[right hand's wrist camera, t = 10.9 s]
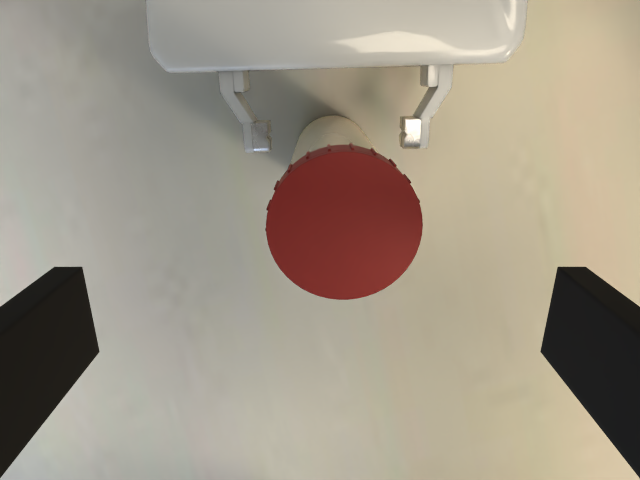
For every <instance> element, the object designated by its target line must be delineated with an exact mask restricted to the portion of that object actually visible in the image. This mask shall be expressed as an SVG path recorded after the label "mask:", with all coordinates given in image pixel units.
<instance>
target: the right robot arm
mask: <svg viewBox="0 0 640 480" xmlns="http://www.w3.org/2000/svg"><path fill="white" fill-rule="evenodd" d="M98 353H99V347H98V342H97V337H96V332H95V328H94V323H93V318H92V313H91V308H90V303H89V298H88V293H87V288H86V283H85V278H84V273H83V268H82V267H54V268H52V269H51V270H50V271H48V272H47V273H46V274H44V275H43V276H41V277H40V278H39V279H37V280H36V281H35V282H33V283H32V284H31V285H29V286H28V287H27V288H25V289H24V290H23V291H21V292H20V293H18V294H17V295H16V296H14V297H13V298H12V299H10V300H9V301H8V302H6V303H5V304H4V305H2V306H1V307H0V478H1V476H2V475H3V474H4V473H5V471H6V470H7V469H8V467H9V466H10V465H11V464H12V462H13V461H14V460H15V459H16V457H17V456H18V455H19V453H20V452H21V451H22V450H23V448H24V447H25V446H26V445H27V443H28V442H29V441H30V439H31V438H32V437H33V436H34V434H35V433H36V432H37V431H38V429H39V428H40V427H41V425H42V424H43V423H44V422H45V420H46V419H47V418H48V417H49V415H50V414H51V413H52V411H53V410H54V409H55V408H56V406H57V405H58V404H59V403H60V401H61V400H62V399H63V397H64V396H65V395H66V394H67V392H68V391H69V390H70V389H71V387H72V386H73V385H74V383H75V382H76V381H77V380H78V378H79V377H80V376H81V375H82V373H83V372H84V371H85V369H86V368H87V367H88V366H89V364H90V363H91V362H92V361H93V359H94V358H95V357H96V355H97V354H98ZM541 353H542V354H543V355H544V357H545V358H546V359H547V361H548V362H549V363H550V364H551V366H552V367H553V368H554V369H555V371H556V372H557V373H558V375H559V376H560V377H561V378H562V380H563V381H564V382H565V383H566V385H567V386H568V387H569V389H570V390H571V391H572V392H573V394H574V395H575V396H576V397H577V399H578V400H579V401H580V403H581V404H582V405H583V406H584V408H585V409H586V410H587V411H588V413H589V414H590V415H591V417H592V418H593V419H594V420H595V422H596V423H597V424H598V425H599V427H600V428H601V429H602V431H603V432H604V433H605V434H606V436H607V437H608V438H609V439H610V441H611V442H612V443H613V445H614V446H615V447H616V448H617V450H618V451H619V452H620V453H621V455H622V456H623V457H624V459H625V460H626V461H627V462H628V464H629V465H630V466H631V467H632V469H633V470H634V471H635V473H636V474H637V475H638V476H639V478H640V307H639V306H638V305H636V304H635V303H634V302H632V301H631V300H630V299H628V298H627V297H626V296H624V295H623V294H622V293H620V292H619V291H617V290H616V289H615V288H613V287H612V286H611V285H609V284H608V283H607V282H605V281H604V280H603V279H601V278H600V277H599V276H597V275H596V274H594V273H593V272H592V271H590V270H589V269H588V268H586V267H558V268H557V273H556V278H555V283H554V288H553V293H552V298H551V303H550V308H549V313H548V318H547V323H546V328H545V332H544V337H543V342H542V347H541Z"/></svg>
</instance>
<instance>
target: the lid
mask: <svg viewBox="0 0 640 480" xmlns="http://www.w3.org/2000/svg"><path fill="white" fill-rule="evenodd" d="M410 183H411V181H410V180H409V179H408V178H407V176H406V175H405V174H404V175H403V174H402V173H401V172H400V171H399V170H398V169H397V167H396V164H395V163H394V162H393V161H392V160H391V159H389V160H388V159H387V158H385V157H384V156H382V155H380V154H379V153H377V152H375V150H374V149H373V148H371V149H367V148H364V147H360V146H355V145H353V144H352V143H349V145H332V146H330V144H327V147H323V148H319V149H317V150H315V151H312V152H309V151H308V152H307V153H306V155H305V156H303V157H301V158H300V159H299V160H297V161H296V162H295V163H294V164H293V165H292V164H290V165H289V167H288V170H287V171H286V172H285V174H284V175H283V176H282V178H281V179H280V181H277V182H276V185H275V187H274V190H275V192H274V195H273V197H272V200H270V201H269V204H268V206H267V210H268V213H267V221H266V235H267V240H268V245H269V248H270V251H271V254H272V256H273V258H274V260H275V262H276V263H277V265H278V266H279V268H280V269H281V271H282V272H283V273H284V274H285V275H286V276H287V277H288V278H289V279H290V280H291V281H292V282H293V283H295V284H296V285H298V286H299V287H300V288H302V289H304V290H306V291H308V292H310V293H312V294H315V295H317V296H321V297H325V298H330V299H339V300H348V299H356V298H361V297H365V296H368V295H371V294H374V293H376V292H378V291H380V290H382V289H384V288H386V287H387V286H389V285H390V284H392V283H393V282H394V281H395V280H397V279H398V278H399V277H400V276H401V275H402V274H403V273H404V272H405V271H406V269H407V268H408V266H409V265H410V264H411V262H412V260H413V259H414V257H415V255H416V253H417V250H418V247H419V245H420V241H421V236H422V226H423V223H422V213H421V207H420V204H419V203H420V201H419V199H418V198H417V196H416V194H415V192H414V190H413V188H412V186H411V185H410Z"/></svg>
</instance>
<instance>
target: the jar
mask: <svg viewBox="0 0 640 480" xmlns="http://www.w3.org/2000/svg"><path fill="white" fill-rule="evenodd" d="M349 143H352V144H353V145H355V146H360V147H364V148H367V149H371V148H373V149H374V150H375V152H377V153H378V151H377V150H376V149H375V147H374V146H373V145H372V143H371V142H370V141H369V139H368V138H367V136H366V135H365V134H364V132H363V131H362V130H361V128H360V127H359V126H358V125H357V124H355V123H354V122H353V121H351V120H349V119H347V118H345V117H341V116H334V115H330V116H324V117H321V118H318V119H316V120H314V121H313V122H311V123H310V124H309V125H307V127H306V128H305V129H304V130H303V131H302V133H301V135H300V136H299V139H298V141H297V144H296V147H295V150H294V153H293V156H292V159H291V162H290V164H292V165H293V164H294V163H295V162H296V161H297V160H299V159H300V158H301V157H303V156H305V155H306V153H307V152H308V151H309V152H312V151H315V150H317V149H319V148H323V147H327V144H330V146H332V145H349Z"/></svg>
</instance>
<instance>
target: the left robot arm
mask: <svg viewBox="0 0 640 480" xmlns="http://www.w3.org/2000/svg"><path fill="white" fill-rule="evenodd" d="M527 6H528V0H146V16H147V30H148V40H149V48H150V52H151V54H152V56H153V58H154V59H155V60H156V61H157V62H158V63H159V64H160V66H161V67H162V68H163V69H164V70H165V71H167V72H170V73H194V72H218V75H219V85H220V93H221V95H222V96H223V98H224V99H225V101H226V102H227V104H228V105H229V107H230V108H231V110H232V111H233V113H234V114H235V116H236V117H237V119H238V120H239V122H240V123H243V135H244V146H245V151H246V153H261V152H270V150H272V138H271V137H270V135H269V134H270V132H271V121H270V120H257V118H256V116H255V115H254V113H253V111H252V110H251V108H250V107H249V105H248V103H247V102H246V100H245V99H244V97H243V95H242V94H241V92H246V91H248V90H249V89H250V85H249V71H260V70H295V69H330V68H365V67H399V66H421V70H420V85H421V86H426V87H429V88H428V90H427V92H426V94H425V95H424V97H423V99H422V101H421V102H420V104H419V106H418V108H417V109H416V111H415V113H414V115H413V116H402V117H400V128H401V130H402V132H401V133H400V136H399V141H400V146H401V147H402V148H403V149H418V148H427V147H428V143H429V129H430V118H433V116H434V114H435V113H436V111H437V110H438V108H439V106H440V105H441V103H442V102H443V100H444V99H445V97H446V95H447V94H448V92H449V91H450V89H451V87H452V77H453V65H474V64H499V63H505V62H506V61H508V60H509V59H510V58H511V56H512V55H513V54H514V53H515V52H516V50H517V49H518V48H519V46H520V45H521V43H522V41H523V38H524V33H525V26H526V17H527Z"/></svg>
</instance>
